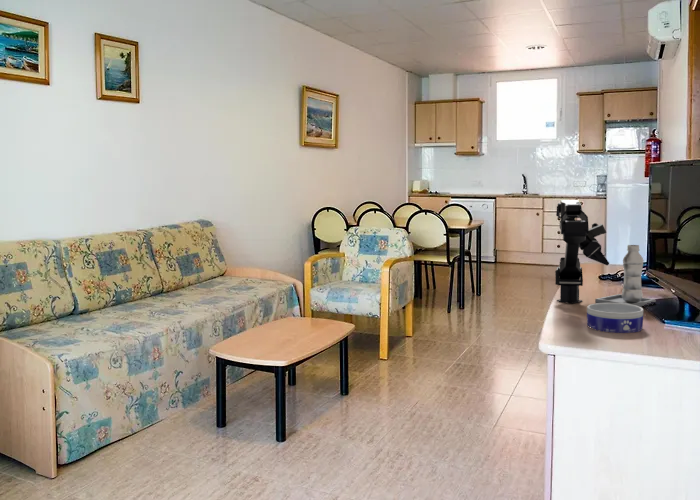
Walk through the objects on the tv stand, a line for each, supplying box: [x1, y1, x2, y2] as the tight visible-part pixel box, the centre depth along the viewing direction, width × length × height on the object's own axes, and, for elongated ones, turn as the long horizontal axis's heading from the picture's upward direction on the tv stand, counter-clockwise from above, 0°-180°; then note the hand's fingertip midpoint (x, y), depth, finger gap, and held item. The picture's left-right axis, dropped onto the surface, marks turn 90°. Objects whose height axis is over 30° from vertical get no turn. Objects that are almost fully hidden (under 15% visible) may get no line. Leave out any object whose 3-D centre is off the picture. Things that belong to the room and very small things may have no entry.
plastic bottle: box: [621, 244, 644, 303], centre depth 211 cm, size 6×7×20 cm
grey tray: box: [594, 293, 657, 308], centre depth 213 cm, size 14×14×2 cm
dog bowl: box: [586, 303, 644, 334], centre depth 180 cm, size 15×15×6 cm
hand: (607, 262), depth 220 cm, fingers open, 9 cm apart
